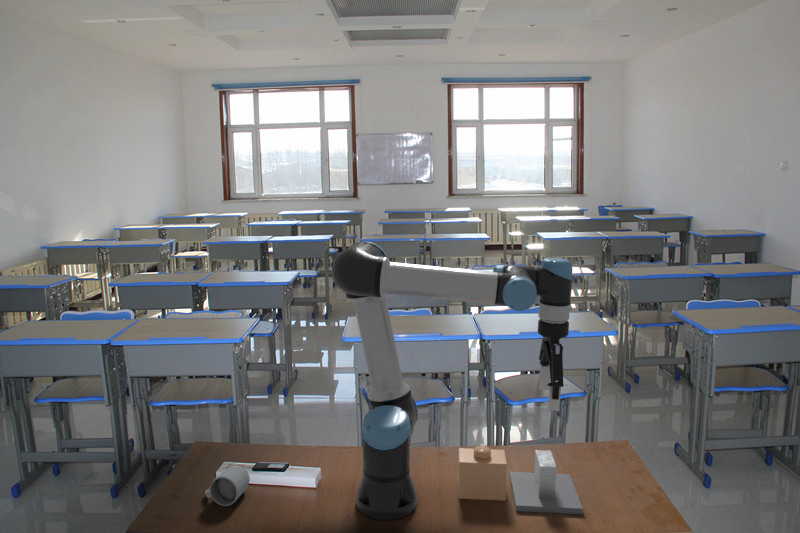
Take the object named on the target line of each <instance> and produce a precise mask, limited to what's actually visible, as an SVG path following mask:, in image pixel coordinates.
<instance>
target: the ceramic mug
mask: <svg viewBox="0 0 800 533" xmlns="http://www.w3.org/2000/svg"><path fill="white" fill-rule="evenodd" d="M249 484H250V474H249V472H248V471H247V470H246V468H245V467H243V466H241V465H231V466H229V467H228V468H227V467H226V469H225V470H224V471H222V472H221V473H220V474H219V475H218V476H216V477H215V478H214V479H213V480H212V481H211V483H210V485H209V487H208V488H207V489H206V490H205V492H204V494H205V497H206V498H207V499H211V498H212V501H213V502H215V503H216V504H217V505H219V506H223V507H229V506H233V504H234V503H236V502H237V500H238V499H239V498H240V496H242V494H244V492H245V491H246V489H247V488H248V487H249Z"/></svg>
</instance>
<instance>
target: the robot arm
mask: <svg viewBox="0 0 800 533" xmlns="http://www.w3.org/2000/svg"><path fill="white" fill-rule="evenodd" d="M331 268H332V269H331V274H332V275H331V276H332V278H333V281H334V283H335V284H336V286H337V287H338V289H340V290H341V291H343V292H344V293H345V295H346V296H345V297H346V300H348V301H349V302H352V303H353V307H354V310H355V316H356V319H357V324H358V328H359V329H358V330H359V334H360V340H361V343H362V349H363V354H364V357H365V358H364V359H365V362H366V366H367V373H368V376H369V381H370V387H371V390H370V391H369V392H368V394H367V399H368V405H369V408H370V410H368V411H367V412H366V414H365V415H364V417H363V420H362V426H361V434H362V471H363V472H362V473H363V474H362V477H361V480H360V483H359V485H358V486H359V487H358V489H357V492H356V507H357V509H358V510H359V512H360V513H361V514H363V515H365V517H368V518H371V519H375V520H378V521H379V520H380V521H391V520H397V519H400V518H405V517H406V516H409V515H410V514H411V513H412V512H413V511H414V510H415V509H416V507H417V506H418V504H417V503H418V500H417V499H418V498H417V497H418V494H417V490H416V488H415V484H414V482H413V479H412V476H411V470H410V469H411V467H410V466H411V452H410V451H411V441H412V438H413V433H414V429H415V426H416V424H417V421H418V414H419V413H418V412H419V411H418V404H417V402H416V399H415V398H414V396H413V395H412V390H411V387H410V384H407V383H406V382H404V381H403V375H402V370H401V365H400V359H399V355H398V350H397V345H396V340H395V334H394V330H393V326H392V325H393V324H392V320H391V315H390V312H389V304H388V301H387V295H395V296H407V297H408V296H409V297H414V298H415V297H416V298H426V299H435V300H446V301H447V300H449V301H455V302H456V301H458V302H466V303H476V304H488V305H495V306H496V305H497V306H503V307H504V306H506V307H508V308H509V309H511V310H513V311H516V312H524V311H527V310H529V309H531V308H532V307H533V306H534V304H535V302H536V301H537V297H539V303H538V317H539V319H538V320H537V321H538V322H537V333H538V335H540V336H542V337H541V338H542V340H541V345H540V351H539V356H538V360H539V376H538V377H539V380H538V390H540V391H541V390H542V391H548V398H547V399H548V400H547V411H548V412H551V411H552V412H560V408H561V407H560V405H561V394H562V392H561V391H562V388H564V364H563V363H564V361H563V359H564V358H563V355H564V354H563V352H564V351H563V350H564V347H563V345H562V343H560V339H562V338H567V337H568V336H569V328H570V322H569V321H568V320H570V314H571V313H570V312H572V311H573V307H571V298H572V288H573V286H572V285H573V279H574V278H573V262H571V260H569V259H567V258H561V257H545V258H542V261H541V264H540V265H535V266H534V265H533V266H532V265H519V264H518V265H515V264H513V265H512V264H508V263H507V264H496V265H494V266H493V268H492V271H488V270H477V269H467V268H457V267H456V268H455V267H447V266H446V267H445V266H437V265H436V266H435V265H425V264H415V263H403V262H394V261H391V260H390V259H389V258H388V256H387V254H386V252H385V250H383V248H382V247H381V246H380V245H378V244H377V243H374V242H371V241H359V242H356V243H353V244H351V245H349V247H347V248H345V249H343V250H342V251H341V252H339V254H338V255H336V257H335V259H334V260H333V263H332V267H331Z"/></svg>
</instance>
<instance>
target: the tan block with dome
mask: <svg viewBox="0 0 800 533" xmlns="http://www.w3.org/2000/svg"><path fill="white" fill-rule="evenodd" d="M507 463H508V462H507V458H506V453H505V449H496V448H495V449H491V448H490V447H488V446H484V445H478V446H475V447H474V448H468V447H467V448H466V447H465V448H464V447H459V448H458V477H457V478H458V479H457V480H458V483H457V484H458V500H459V499H462V500H481V501H483V500H484V501H500V502H501V501H503V502H506V500H507V473H508V472H507V471H508V466H507V465H508V464H507Z"/></svg>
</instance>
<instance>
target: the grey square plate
mask: <svg viewBox="0 0 800 533" xmlns="http://www.w3.org/2000/svg"><path fill="white" fill-rule="evenodd" d="M533 471H534V472H528V471H527V472H526V471H525V472H524V471H509V474H508V475H509V481H510V482H509V483H510V486H511V492H512V496H513V497H512V498H513V501H514V502H513V504H514V508H515V511H516V512H527V513H528V512H530V513H547V512H548V514H550V513H552V514H553V513H554V514H567V515H568V514H571V515H583V514H584V508H583V506H582V502H581V500H580V497H579V494H578V492H577V490H576V487H575V484H574V481H573V480H572V477H571V474H569V473H557V465H556V461H555V459H554V455H553V453H552V451H551V450H539V449H536V450H535V449H534V470H533Z"/></svg>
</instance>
